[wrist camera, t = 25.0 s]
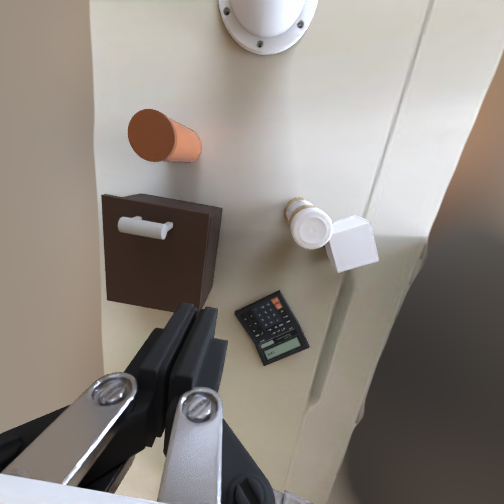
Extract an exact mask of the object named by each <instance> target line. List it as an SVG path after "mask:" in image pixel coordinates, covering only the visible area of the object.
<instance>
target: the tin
mask: <svg viewBox="0 0 504 504" xmlns="http://www.w3.org/2000/svg"><path fill="white" fill-rule="evenodd" d="M128 138H129V142H130V144H131V146H132V148H133V150H134V151H135V152H136V153H137V154H138V155H139V156H140V157H141V158H143V159H145V160H147V161H152V162H161V161H164V162H178V163H191V162H193V161H195V160H196V159H197V158H198V157H199V155H200V152H201V141H200V138H199V137H198V135H197V134H196V133H195V132H194V131H193V130H191V129H189V128H187V127H186V126H184V125H182V124H180V123H178V122H176V121H174V120H172V119H170V118H168V117H167V116H166V115H164V114H163V113H161V112H159V111H156V110H153V109H144V110H141V111H139V112H137V113H136V114H135V115H134V116H133V117H132V119H131V121H130V123H129V126H128Z"/></svg>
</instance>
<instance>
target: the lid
mask: <svg viewBox="0 0 504 504" xmlns="http://www.w3.org/2000/svg"><path fill="white" fill-rule="evenodd" d="M101 196H102V215H103V234H104V253H105V271H106V290H107V300H109V301H114V302H120V303H125V304H131V305H136V306H142V307H147V308H153V309H158V310H164V311H170V312H175V311H176V309H177V308H178V306H179V305H180V303H181V302H184V303H190V304H194V308H197V309H198V311H197V315H198V313H199V311H200V307H201V298H202V289H203V279H204V270H205V261H206V252H207V242H208V233H209V224H210V215H211V213H207V212H202V211H196V210H190V209H185V208H179V207H174V206H168V205H163V204H157V203H152V202H146V201H141V200H135V199H129V198H124V197H118V196H113V195H107V194H104V195H101Z"/></svg>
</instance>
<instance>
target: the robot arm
mask: <svg viewBox="0 0 504 504" xmlns="http://www.w3.org/2000/svg"><path fill="white" fill-rule="evenodd" d="M317 1H318V0H218V4H219V9H220V13H221V16H222V19H223V22H224V24H225V27H226V28H227V30H228V32H229V34H230V35H231V37H232V38H233V39H234V40H235V41H236V42H237V43H238V44H239V45H240V46H242V47H243V48H244V49H246V50H248V51H250V52H252V53H256V54H260V55H272V54H276V53H280V52H282V51H284V50H286V49H288V48H289V47H291V46H292V45H293V44H295V43H296V42H297V41H298V40H299V39H300V38H301V37H302V36H303V34H304V33H305V31H306V30H307V28H308V27H309V24H310V22H311V20H312V18H313V15H314V12H315V9H316V6H317ZM226 14H229V15H228V16H226ZM298 27H301V28H302V29H299V28H298ZM259 45H261V46H262V48H258V46H259ZM197 311H198V309H197V308H194V304H190V303H184V302H181V303H180V305H179V306H178V308H177V309H176V311H175V313H174V314H173V316H172V317H171V319H170V320H169V322H168V323H167V325H166V327H165V328H164V329H161V328H155V329H154V330H153V332H152V333H151V334H150V336H149V337H148V339H147V340H146V341H145V343H144V344H143V346H142V347H141V349H140V350H139V351H138V353H137V354H136V356H135V357H134V359H133V360H132V361H131V363H130V364H129V366H128V367H127V368H126V370H125V371H124V372H115V373H111V374H107V375H105V376H103V377H101V378H99V379H98V380H96V381H95V382H94V383H93V384H92V385H91V386H90V387H89V388H88V389H86V390H85V392H83V393H82V394H81V395H80V396H79V397H78V398H77V399H76V400H75V401H74V402H73V403H72V404H71V405H68V406H66V407H64V408H61V409H59V410H56V411H54V412H52V413H49V414H47V415H44V416H42V417H40V418H37V419H35V420H32V421H30V422H27V423H25V424H23V425H20V426H18V427H16V428H13V429H11V430H8V431H6V432H3V433H2V434H0V504H313V503H311V502H309V501H306V500H304V499H302V498H300V497H298V496H296V495H294V494H292V493H290V492H288V491H286V490H285V492H284V494H283V493H281V492H279V491H277V490H275V489H273V488H272V487H271V485H270V483H269V481H268V480H267V478H266V477H265V475H264V474H263V473H262V471H261V470H260V468H259V467H258V466H257V464H256V463H255V462H254V460H253V459H252V457H251V456H250V455H249V453H248V452H247V451H246V449H245V448H244V446H243V445H242V444H241V442H240V441H239V439H238V438H237V437H236V435H235V434H234V433H233V431H232V430H231V428H230V427H229V426H228V424H227V423H226V422H225V420H224V419H223V405H222V400H221V398H220V396H219V395H218V390H219V386H220V381H221V376H222V372H223V367H224V362H225V356H226V350H227V344H228V341H227V340H222V339H216V338H214V333H215V326H216V319H217V312H218V309H217V308H212V307H205V309H200V311H199V313H198V315H197ZM164 429H165V438H164V450H163V452H164V455H165V457H166V460H165V465H164V470H163V474H162V479H161V484H160V489H159V493H158V498H157V502H156V501H150V500H145V499H140V498H134V497H129V496H123V495H118V494H114V493H115V491H116V490H117V488H118V486H119V485H120V483H121V481H122V480H123V478H124V476H125V475H126V473H127V471H128V470H129V468H130V466H131V465H132V463H133V460H134V458H135V454H137V453H138V452H140V451H142V450H143V449H145V447H146V446H147V447H152V445H153V443H154V441H155V438H156V437H161V436H162V434H163V432H164Z"/></svg>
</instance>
